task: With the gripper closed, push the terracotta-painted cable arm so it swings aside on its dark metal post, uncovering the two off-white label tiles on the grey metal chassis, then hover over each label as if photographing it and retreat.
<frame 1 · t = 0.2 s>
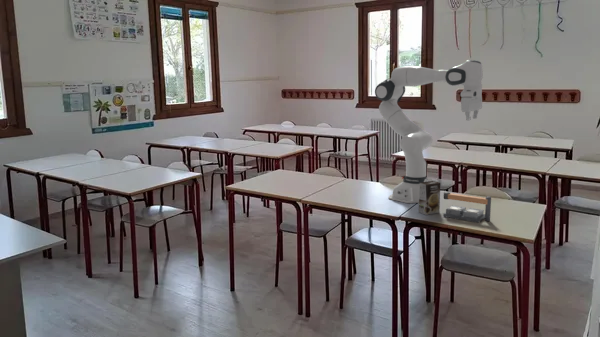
hand: (471, 119, 261), 47 cm above the table, fingers open, 8 cm apart
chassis: (464, 217, 256), on the table
coffee box: (429, 212, 265), on the table
cable arm: (466, 205, 254), point 6 cm above the table, hinge at 0.0°
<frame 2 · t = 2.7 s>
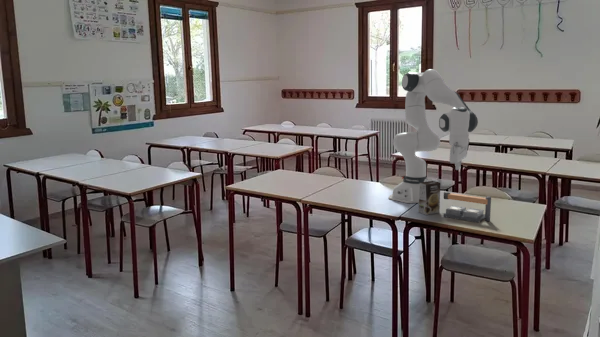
hand: (457, 169, 246), 26 cm above the table, fingers closed
nothing on the table moved.
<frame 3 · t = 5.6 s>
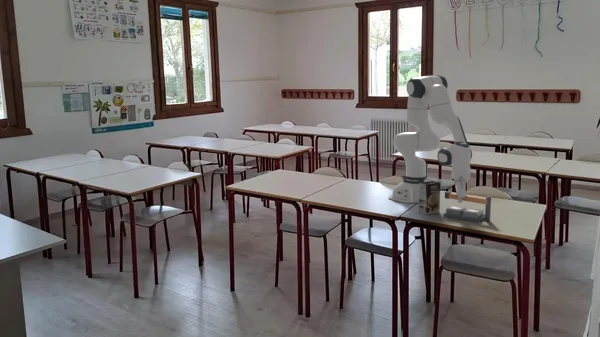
hand: (459, 202, 253), 8 cm above the table, fingers closed
cable arm: (467, 205, 254), point 6 cm above the table, hinge at 3.8°, touching gripper
everything else where it was.
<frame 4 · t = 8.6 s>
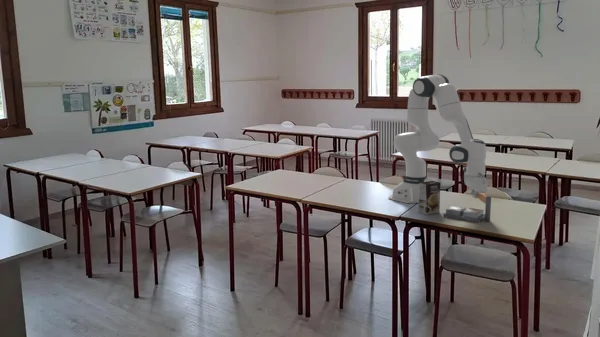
hand: (474, 197, 260), 8 cm above the table, fingers closed, pressing on cable arm
cable arm: (480, 202, 258), point 6 cm above the table, hinge at 52.9°, touching gripper
everything else where it was.
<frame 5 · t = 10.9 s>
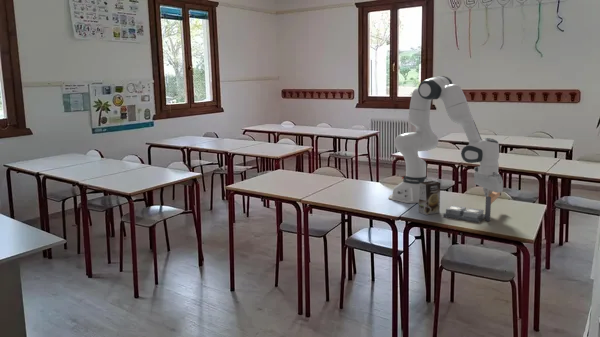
hand: (487, 196, 260), 9 cm above the table, fingers closed
cable arm: (493, 203, 256), point 6 cm above the table, hinge at 84.4°
everything else where it was.
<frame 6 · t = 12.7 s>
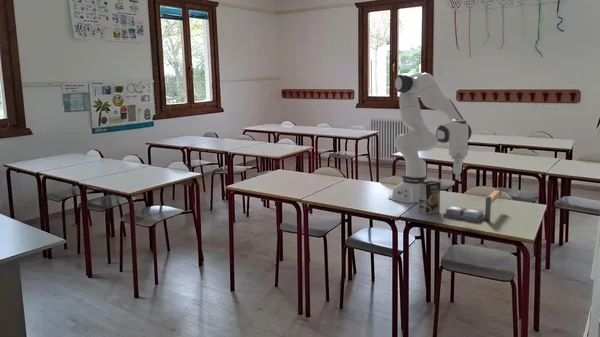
hand: (457, 179, 254), 19 cm above the table, fingers closed
nothing on the table moved.
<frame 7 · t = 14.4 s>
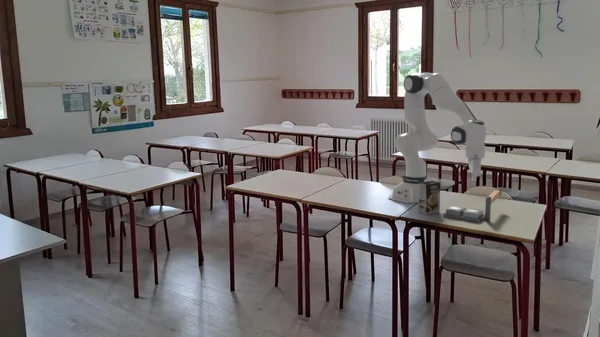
hand: (474, 181, 248), 19 cm above the table, fingers closed
nothing on the table moved.
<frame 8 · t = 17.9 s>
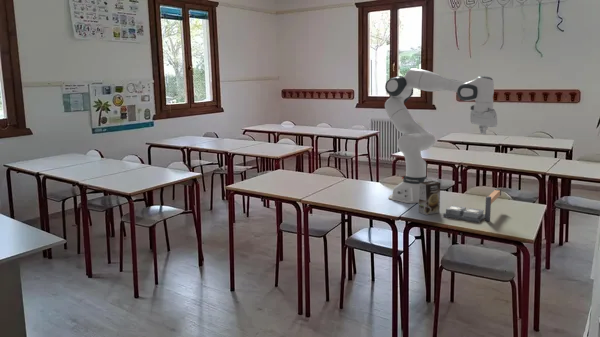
hand: (482, 133, 268), 39 cm above the table, fingers closed
nothing on the table moved.
at the end: cable arm at +84° (first picture: +0°); coffee box moved 0.2 cm from its start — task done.
